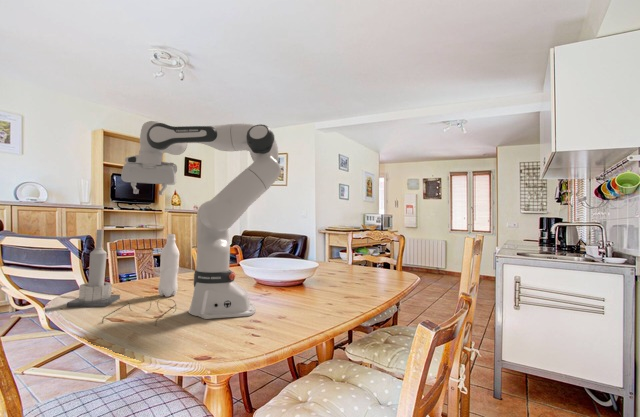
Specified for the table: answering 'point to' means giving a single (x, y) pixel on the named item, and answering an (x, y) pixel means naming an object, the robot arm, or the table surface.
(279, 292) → the table surface
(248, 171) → the robot arm
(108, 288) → the collar holder
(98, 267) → the bottle
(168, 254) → the water bottle
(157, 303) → the eyeglasses
